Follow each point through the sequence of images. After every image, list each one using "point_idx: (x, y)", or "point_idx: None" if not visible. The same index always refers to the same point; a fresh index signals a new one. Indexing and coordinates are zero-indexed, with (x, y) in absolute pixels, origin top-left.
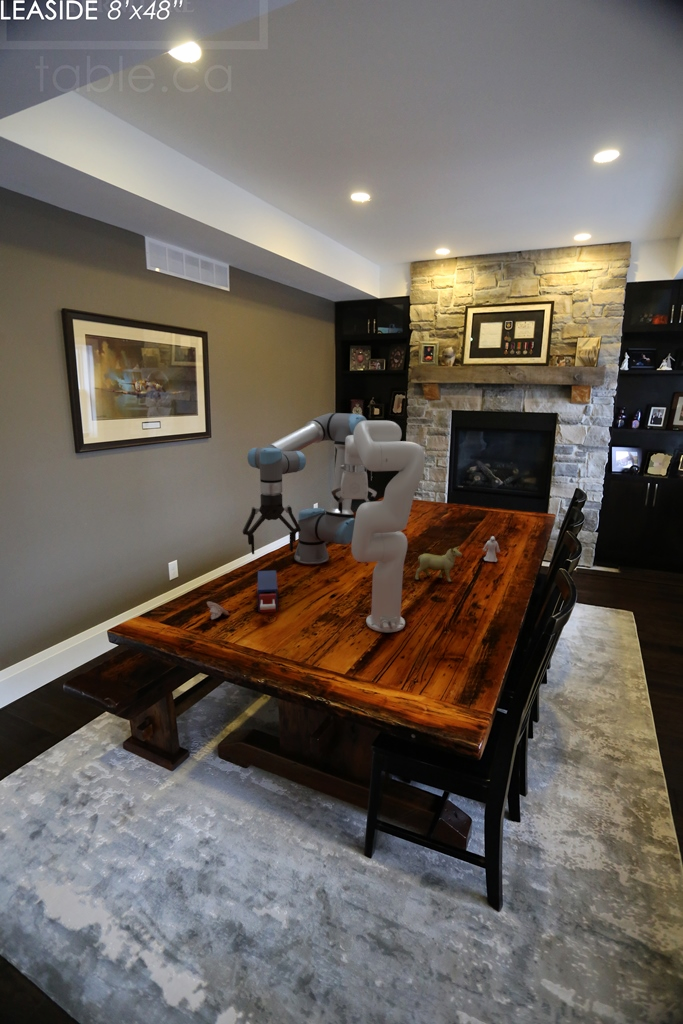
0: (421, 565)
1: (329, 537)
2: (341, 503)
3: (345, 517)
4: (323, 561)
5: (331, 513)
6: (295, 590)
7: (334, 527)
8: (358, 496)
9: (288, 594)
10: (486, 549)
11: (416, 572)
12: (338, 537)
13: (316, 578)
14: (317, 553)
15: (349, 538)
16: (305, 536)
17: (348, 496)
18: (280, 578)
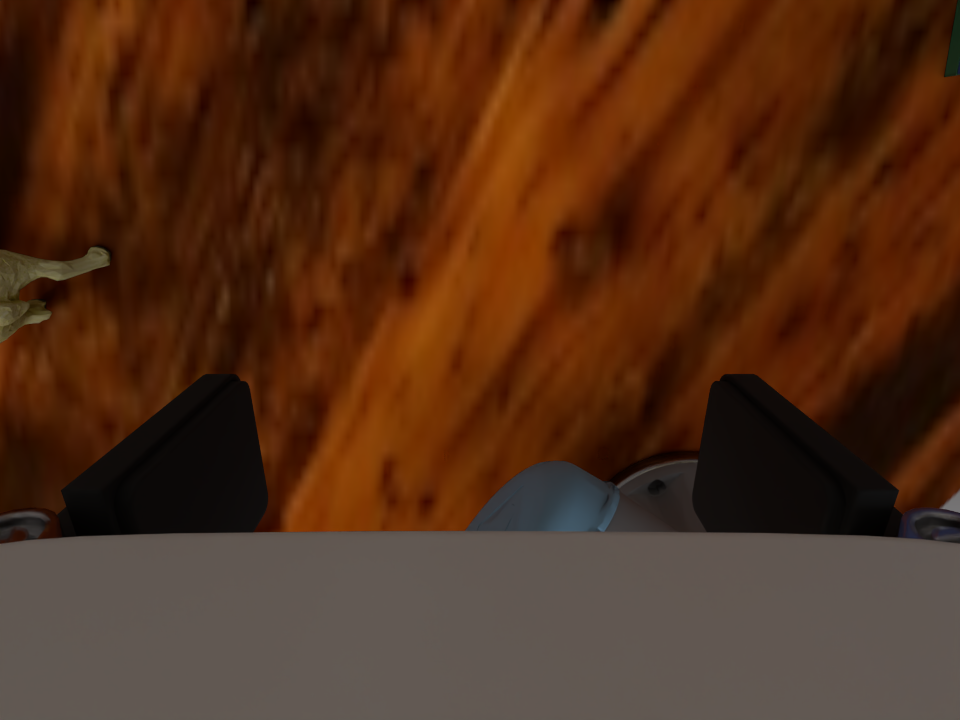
0: (5, 259)
1: (650, 513)
2: (867, 492)
3: None
4: (621, 481)
5: None
6: (827, 83)
7: None
8: (239, 613)
9: (882, 13)
10: None
11: (79, 269)
12: (588, 475)
13: (678, 275)
14: (668, 512)
15: (492, 510)
16: None
17: (838, 611)
18: (881, 273)
